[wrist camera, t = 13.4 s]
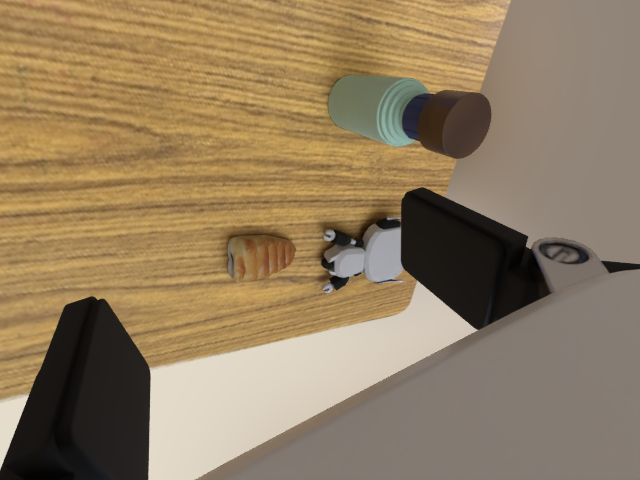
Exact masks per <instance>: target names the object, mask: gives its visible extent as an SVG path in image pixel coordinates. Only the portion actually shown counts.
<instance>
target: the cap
mask: <svg viewBox="0 0 640 480" xmlns="http://www.w3.org/2000/svg"><path fill="white" fill-rule="evenodd" d="M433 95H435V94H428V93H424V94H420V95H417V96H415V97H414V98H412V99H411V100H410V101H409V103H408V104H407V105H406V107H405V109H404V112H403V116H402V128H403V131H404V133H405V134H406V136H408V138H411V139H414V140H417V141H419V138H418V132H417V126H418V120H419V116H420V113H421V111H422V109H423V107H424V106H425V104H426V103H427V101H428V100H429V99H430V98H431V97H432V96H433Z"/></svg>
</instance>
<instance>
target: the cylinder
mask: <svg viewBox="0 0 640 480" xmlns="http://www.w3.org/2000/svg"><path fill="white" fill-rule="evenodd" d="M490 122H491V107H490V103H489V101H488V99H487V98H486V97H485V96H484V95H482V94H480V93H475V92H464V91H454V90H443V91H440V92H438V93H436V94H435V95H433V96H432V97H431V98H430V99H429V100H428V101H427V103H426V104H425V106H424V107H423V109H422V111H421V113H420V116H419V120H418V126H417V132H418V138H419V141H420V143H421V144H422V146H423V147H424V148H426V149H427V150H430V151H433V152H436V153H439V154H443V155H446V156H449V157H452V158H456V159H459V158H464V157H466V156H469V155H470V154H472V153H473V152H474V151H475V150H476V149H477V148H478V147H479V146H480V145H481V143H482V142H483V140H484V138H485V136H486V135H487V132H488V129H489V126H490Z"/></svg>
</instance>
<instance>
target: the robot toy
mask: <svg viewBox="0 0 640 480" xmlns="http://www.w3.org/2000/svg"><path fill="white" fill-rule="evenodd" d="M397 219H401V217H391V216H387V218H385V219H382V220H379V221H377V222H376V223H375V224H372V225H371V226H370V227H369V228H368V229H367V231H366V232H365V234H364V236H363V239H359V238H355V239H351V238H350V237H349V236H348V235H347V234H346V233H343V232H340V231H337V230H334V231H333V230H326V231H325V234H328V235H323V238H324V240H326V241H331V242H332V243H334V244H335V245H334V246H333V247H332V248H330V249H328V250H326V252H325V253H324V258H323V259H322V262H321V264H322V266H323V267H324V268H326V269H327V270H328V271H329V273H330V274H331V275H335V276H333V277H331V278H330V281H331V282H329V283H325V284H324V285H323V287H322V288H323V290H324V291H325V293H329V292H331V291H332V290H333V288H335V289H336V290H338V289H340V288H341V287H343V286H345V285H346V283H347V281H348V279H349V278H350V277H351V276H353V275H354V276H358V275H359V274H361V271H362V272H363V273H364V274H365V276H366V277H367V278H368V279H369V280H370V281H373V282H374V283H380V284H383V283H386V282H402V281H403V280H392V279H394V278H396V277H397V276H398V275H399V274H400V273H401V272H402V271H403V269H404V268H403V267H402V264H401V222H400V221H398V220H397Z"/></svg>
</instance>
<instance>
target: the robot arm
mask: <svg viewBox="0 0 640 480" xmlns="http://www.w3.org/2000/svg"><path fill="white" fill-rule="evenodd" d="M527 239H528V236H526V235H524V234H522V233H520V232H518V231H516V230H513V229H511V228H509V227H507V226H505V225H503V224H500V223H498V222H496V221H494V220H492V219H490V218H488V217H486V216H484V215H481V214H479V213H477V212H475V211H473V210H471V209H469V208H466V207H464V206H462V205H460V204H458V203H456V202H454V201H451V200H449V199H447V198H445V197H443V196H441V195H439V194H437V193H434V192H432V191H430V190H428V189H426V188H423V187H421V188H418V189H415V190H412V191H409V192H407V193H406V194H405V196H404V198H403V199H402V202H401V264H402V267H403V268H404V269H405V270H406V271H407V272H408V273H409V274H410V275H412V276H413V277H414V278H415V279H416V280H418V281H419V282H420V283H421V284H422V285H424V286H425V287H426V288H427V289H428V290H430V291H431V292H432V293H433V294H434V295H436V296H437V297H438V298H439V299H440V300H441V301H443V302H444V303H445V304H446V305H447V306H449V307H450V308H451V309H452V310H454V311H455V312H456V313H457V314H458V315H460V316H461V317H462V318H463V319H464V320H465V321H467V322H468V323H469V324H470V325H471V326H473V327H474V328H475V329H478V331H476V332H474V333H472V334H471V335H468V336H466V337H465V338H463V339H461V340H459V341H457V342H455V343H453V344H451V345H449V346H447V347H445V348H443V349H441V350H439V351H437V352H435V353H434V354H432V355H430V356H428V357H426V358H424V359H422V360H420V361H418V362H416V363H415V364H413V365H411V366H409V367H407V368H405V369H403V370H401V371H399V372H398V373H395V374H393V375H391V376H390V377H388V378H386V379H384V380H382V381H380V382H378V383H376V384H374V385H372V386H371V387H369V388H367V389H365V390H363V391H361V392H359V393H357V394H355V395H353V396H351V397H350V398H348V399H346V400H344V401H342V402H340V403H338V404H336V405H334V406H332V407H330V408H329V409H327V410H325V411H323V412H321V413H319V414H317V415H315V416H313V417H312V418H310V419H308V420H306V421H304V422H302V423H301V424H299V425H297V426H295V427H293V428H291V429H289V430H287V431H285V432H283V433H281V434H279V435H278V436H276V437H274V438H272V439H270V440H268V441H266V442H264V443H263V444H261V445H259V446H257V447H255V448H253V449H252V450H249V451H247V452H245V453H244V454H242V455H240V456H238V457H236V458H234V459H232V460H230V461H228V462H227V463H225V464H223V465H221V466H219V467H217V468H216V469H214V470H212V471H210V472H208V473H207V474H205V475H203V476H201V477H199V478H198V479H196V480H640V264H630V263H619V262H609V261H600V259H599V258H598V257H597V255H596V254H595V253H594V252H593V251H592V250H591V249H590V248H588V247H587V246H585V245H583V244H581V243H578V242H576V241H572V240H568V239H564V238H544V239H539V240H537V241H536V242H534V243H533V245H532V248H531V249H529V248H527V247H526V243H527ZM149 421H150V369H149V366H148V364H147V362H146V361H145V359H144V357H143V356H142V354H141V353H140V351H139V350H138V348H137V347H136V345H135V344H134V342H133V341H132V339H131V338H130V336H129V335H128V333H127V332H126V330H125V328H124V327H123V325H122V324H121V322H120V321H119V319H118V318H117V316H116V315H115V313H114V312H113V310H112V309H111V307H110V306H109V304H108V303H107V301H106V300H105V299H99V300H97V299H96V298H95V297H92V296H91V297H88V298H85V299H82V300H79V301H76V302H73V303H70V304H67V305H66V306H65V307H64V309H63V312H62V314H61V317H60V320H59V322H58V325H57V328H56V330H55V333H54V335H53V338H52V341H51V343H50V346H49V349H48V351H47V354H46V356H45V359H44V362H43V364H42V367H41V370H40V371H39V373H38V375H37V376H36V379H35V381H34V384H33V387H32V389H31V392H30V394H29V397H28V400H27V402H26V405H25V407H24V410H23V412H22V415H21V418H20V420H19V423H18V425H17V428H16V431H15V434H14V436H13V438H12V441H11V444H10V446H9V449H8V452H7V455H6V457H5V459H4V462H3V464H2V467H1V470H0V480H148V465H149V462H148V461H149Z"/></svg>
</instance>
